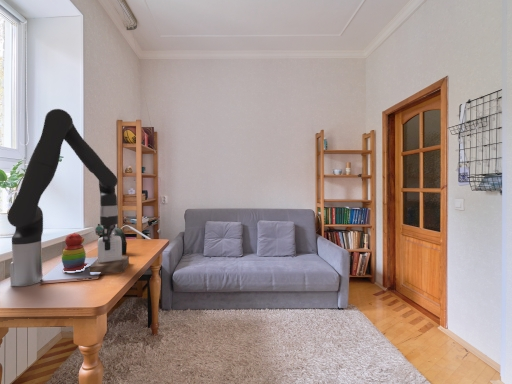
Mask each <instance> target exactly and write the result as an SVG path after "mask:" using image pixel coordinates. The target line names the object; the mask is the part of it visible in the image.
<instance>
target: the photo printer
mask: <svg viewBox="0 0 512 384" xmlns="http://www.w3.org/2000/svg"><path fill="white" fill-rule="evenodd" d="M106 239H108V238H106ZM122 256H123V255H122V240H121V237H120V236H112V238H111V241H110V250H105V243H104V242H103V237H101V238H99V237H98V240H97V259H98V263H102V262H110V261H118V260H122Z"/></svg>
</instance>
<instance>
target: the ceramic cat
mask: <svg viewBox="0 0 512 384" xmlns="http://www.w3.org/2000/svg"><path fill="white" fill-rule="evenodd" d="M115 228H116V236H120V237H121V240H122V256H125V255H127V250H128V247H127V246H128V243H127V237H126V234H125V232H124V231H123V230H122V228H120V227H119V226H115ZM94 229H95V236H98V239H99V238H101V237H103V229H105V226H102V225H100V223H97V226H96V227H95V228H94Z"/></svg>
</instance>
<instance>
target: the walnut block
mask: <svg viewBox="0 0 512 384" xmlns="http://www.w3.org/2000/svg"><path fill="white" fill-rule="evenodd" d="M129 257H130V255H122V260H118V261H110V262H102V263H98V258H97V259H96V260H95V261H94V262H93V263H91V264H90V266H89V268H88V273H89V272H101V275H109V274H118V273H119V274H121V273H125V270H126V269H127V268H128V265H129V264H130V258H129Z"/></svg>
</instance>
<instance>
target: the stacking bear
mask: <svg viewBox="0 0 512 384" xmlns="http://www.w3.org/2000/svg"><path fill="white" fill-rule="evenodd" d="M64 241H65V244H66V246H65V247H64V249H63V250H62V254H61V263H62V266H63V269H62V271H63V270H64V271H76V270H81V269H83V268H84V266H86V265H87V264H89V263H88V262H86V257H87V256H86V255H87V254H86V251H85V247H84V245H83V243H84V241H85V238H84V237H83V236H81V235H80V234H79V233H76V232H74V233H70V234H68V235H67V236H66V237H65V239H64Z"/></svg>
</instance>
